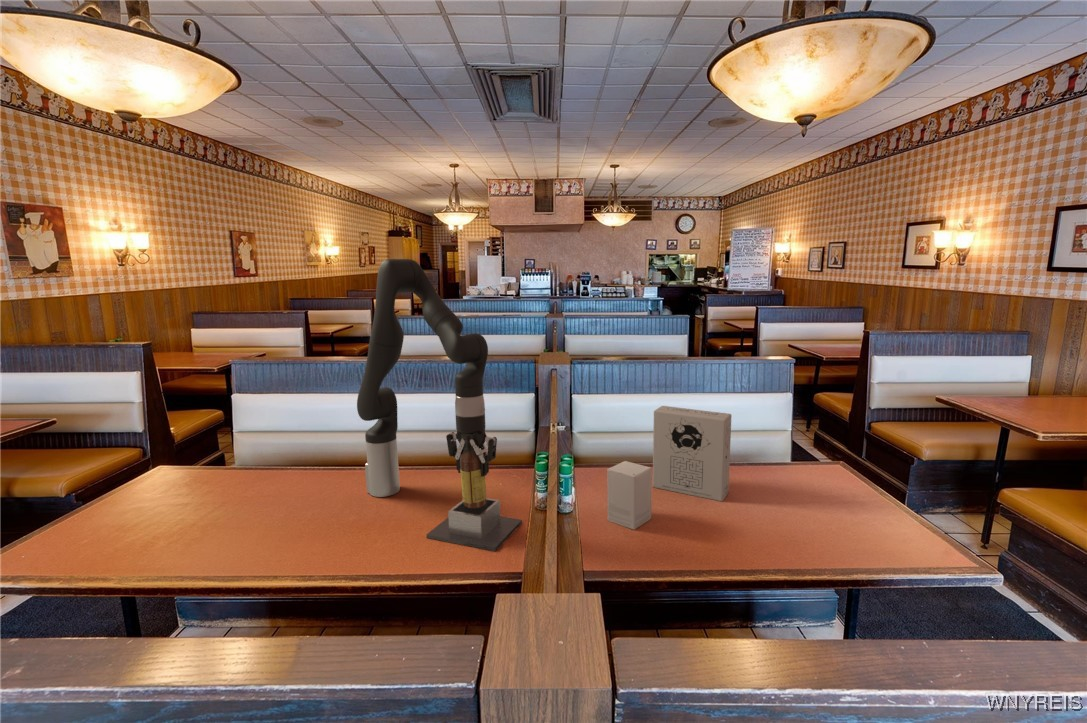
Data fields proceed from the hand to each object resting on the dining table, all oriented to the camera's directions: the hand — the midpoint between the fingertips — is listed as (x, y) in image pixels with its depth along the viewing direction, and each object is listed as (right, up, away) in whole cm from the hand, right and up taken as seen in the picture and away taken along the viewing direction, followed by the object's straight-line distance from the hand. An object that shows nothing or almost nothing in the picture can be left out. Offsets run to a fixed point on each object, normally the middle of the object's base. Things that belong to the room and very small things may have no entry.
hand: (472, 473), depth 140 cm
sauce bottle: (0, -9, +1) cm, 9 cm away
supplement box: (+42, -14, +7) cm, 45 cm away
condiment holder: (0, -16, +3) cm, 16 cm away
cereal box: (+64, -11, +26) cm, 70 cm away
